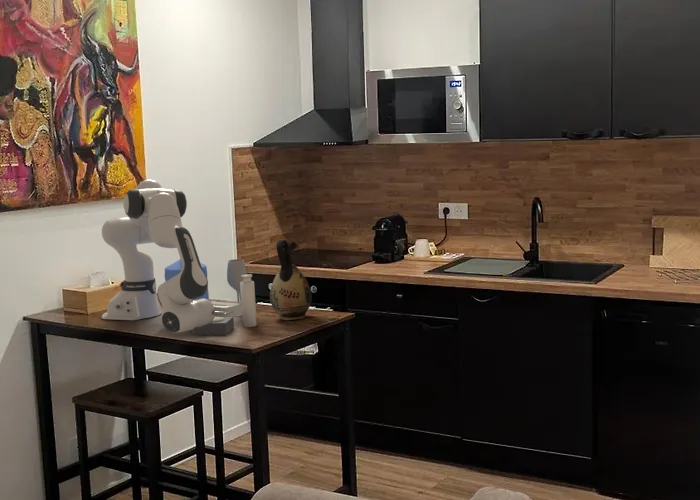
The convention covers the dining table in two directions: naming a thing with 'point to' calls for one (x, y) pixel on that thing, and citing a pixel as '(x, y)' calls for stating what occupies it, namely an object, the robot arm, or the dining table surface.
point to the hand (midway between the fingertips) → (227, 304)
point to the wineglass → (236, 275)
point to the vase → (248, 301)
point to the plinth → (216, 326)
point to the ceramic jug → (289, 286)
